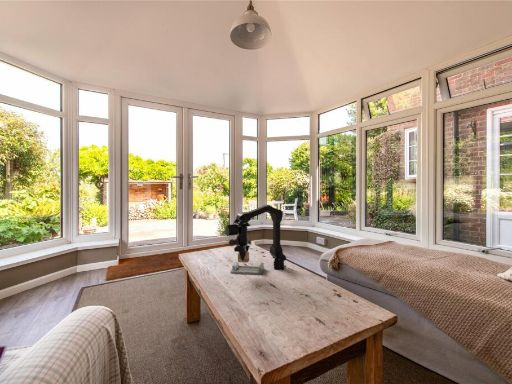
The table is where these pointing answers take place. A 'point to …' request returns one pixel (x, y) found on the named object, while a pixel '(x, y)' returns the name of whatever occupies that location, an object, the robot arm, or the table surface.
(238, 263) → the block
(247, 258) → the block
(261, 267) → the base
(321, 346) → the table surface
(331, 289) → the table surface
